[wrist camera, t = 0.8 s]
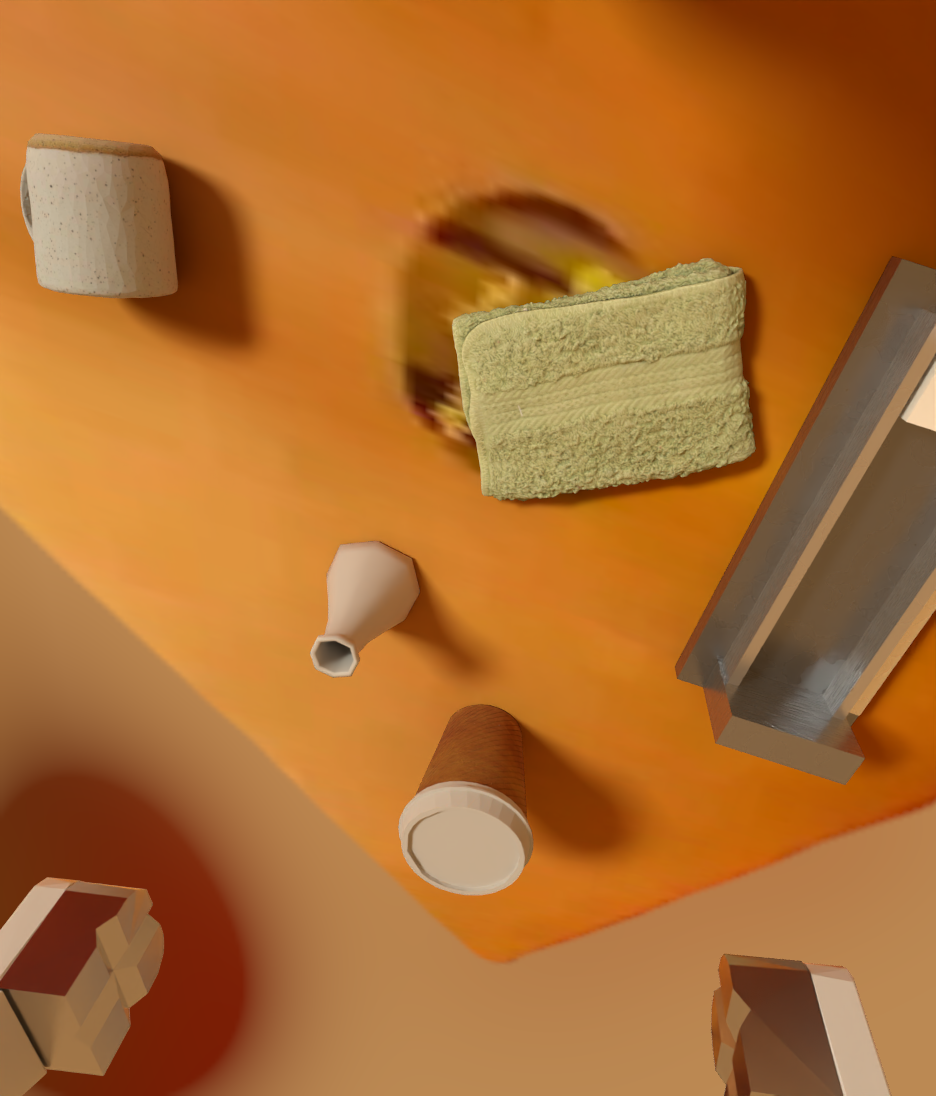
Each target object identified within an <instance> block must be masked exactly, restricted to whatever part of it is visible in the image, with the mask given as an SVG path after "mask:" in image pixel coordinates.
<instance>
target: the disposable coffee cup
mask: <svg viewBox="0 0 936 1096" xmlns="http://www.w3.org/2000/svg"><path fill="white" fill-rule="evenodd" d="M522 748H523V745H522V733H521V729H520V727H519V725H518V723H517V722H516V720H515V719H514V718H513V717H512V716H511V715H509V714H508V713H507V712H505V711H503V710H501V709H499V708H497V707H493V706H489V705H472V706H468V707H464V708H462V709H460V710H459V711H457V712H456V713H455V714H454V715H453V716H452V717H451V718H450V720H449V722H448V725H447V727H446V729H445V731H444V733H443V736H442V738H441V740H440V742H439V744H438V747H437V749H436V751H435V753H434V756H433V758H432V760H431V762H430V764H429V766H428V768H427V771H426V773H425V775H424V777H423V779H422V782H421V784H420V786H419V789H418V791H417V793H416V795H415V797H414V798H413V799H412V800H411V801H410V802H409V803H408V804H407V805H406V806H405V808H404V810H403V813H402V815H401V817H400V821H399V827H398V828H399V837H400V839H401V843H402V851H403V855H404V857H405V859H406V861H407V863H408V865H409V866H410V867H411V868H412V870H413V871H414V872H415V873H416V874H417V875H418V876H420V877H421V878H422V879H424V880H425V881H426V882H428V883H430V884H432V885H434V886H435V887H437V888H439V889H442V890H446V891H449V892H452V893H457V894H462V895H484V894H490V893H494V892H497V891H500V890H502V889H504V888H506V887H508V886H509V885H511V884H512V883H513V882H514V881H515V880H516V879H517V878H518V877H519V875H520V874H521V872H522V870H523V868H524V867H525V865H526V864H527V863H528V861H529V859H530V857H531V855H532V851H533V836H532V830H531V828H530V826H529V824H528V820H527V815H526V813H527V811H526V796H525V783H524V782H525V779H524V762H523V749H522Z"/></svg>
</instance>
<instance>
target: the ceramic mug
mask: <svg viewBox="0 0 936 1096" xmlns="http://www.w3.org/2000/svg"><path fill="white" fill-rule="evenodd" d="M20 191H21V206H22V212H23V216H24V219H25V223H26V226H27V229H28V231H29V234H30V236H31V238H32V240H33V241H34V249H35V260H36V271H37V278H38V282H39V284H40V285H41V286H42V287H44V288H47V289H50V290H52V291H56V292H62V293H68V294H77V295H86V296H95V297H106V298H148V297H159V296H164V295H169V294H173V293H175V292H177V289H178V281H177V271H176V261H175V251H174V239H173V229H172V220H171V210H170V193H169V184H168V179H167V175H166V170H165V166H164V163H163V160H162V157H161V155H160V154H159V153H158V152H157V151H156V150H155V149H154V148H153V147H151V146H147V145H141V144H133V143H125V142H117V141H108V140H100V139H90V138H82V137H74V136H65V135H53V134H42V133H38V134H35V135H34V136H33V137H32V138H31V139H30V140H29V141H28V146H27V155H26V164H25V167H24V169H23V172H22V176H21V186H20Z"/></svg>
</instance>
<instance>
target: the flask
mask: <svg viewBox="0 0 936 1096" xmlns="http://www.w3.org/2000/svg"><path fill="white" fill-rule="evenodd" d="M327 589H328V623H327V627H326V631H325V634H324V635H319V636H318V637H317V639H316V641H315V643H314V646H313V648H312V650H311V652H310V654H311V657H312V660H313V663H314V666H315V669H316V670H319V671H321V672H323V673H325V674H327V675H329V676H331V677H348V676H352V674H353V672H354V670H355V668H356V667H357V665H358V663H359V661H360V657H359V654H358V653H359V652H360V651H361V650H362V649H363V648H364V646H365V645H366V644H367V643H368V642H370V641H371V640H373V639H374V638H376V637H377V636H379V635H380V634H382V633H383V632H385V631H387V630H389V629H390V628H392V627H394V626H396V625H397V624H399V623H401V622H402V621H404V620H405V619H406V617H407V615H408V613H409V612H410V610H411V608H412V606H413V604H414V602H415V601H416V599H417V597H418V595H419V593H420V589H419V585H418V581H417V577H416V573H415V569H414V565H413V561H412V558H410V557H408V556H406V555H404V554H402V553H400V552H398V551H396V550H394V549H392V548H390V547H388V546H386V545H384V544H382V543H380V542H378V541H371V542H362V543H352V544H343V545H340V547H339V549H338V551H337V553H336V555H335V557H334V560H333V562H332V564H331V566H330V568H329V570H328V573H327Z"/></svg>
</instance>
